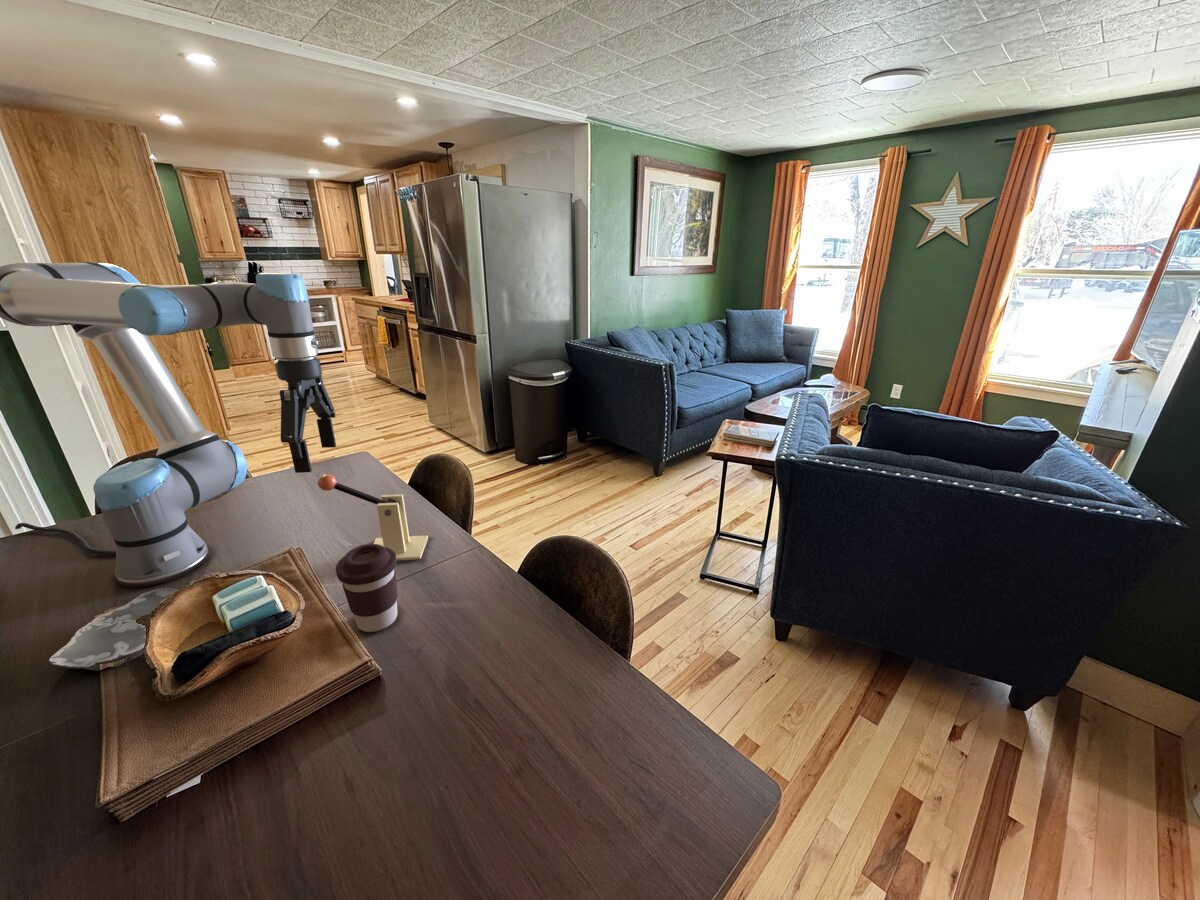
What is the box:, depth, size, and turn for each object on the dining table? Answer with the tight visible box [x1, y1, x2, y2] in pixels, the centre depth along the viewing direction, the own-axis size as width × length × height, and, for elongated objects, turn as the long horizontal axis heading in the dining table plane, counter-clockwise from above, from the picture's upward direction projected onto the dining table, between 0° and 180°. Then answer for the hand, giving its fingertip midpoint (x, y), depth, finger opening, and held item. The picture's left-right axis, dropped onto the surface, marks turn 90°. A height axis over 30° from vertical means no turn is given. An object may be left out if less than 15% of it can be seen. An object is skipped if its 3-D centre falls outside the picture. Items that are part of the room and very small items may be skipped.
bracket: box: [373, 493, 429, 561], centre depth 109 cm, size 12×9×14 cm
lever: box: [317, 473, 400, 506], centre depth 105 cm, size 17×4×4 cm, turn 98°
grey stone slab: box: [48, 587, 181, 672], centre depth 85 cm, size 20×17×3 cm
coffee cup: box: [335, 543, 398, 633], centre depth 88 cm, size 10×10×15 cm
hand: (317, 458), depth 99 cm, fingers open, 13 cm apart
